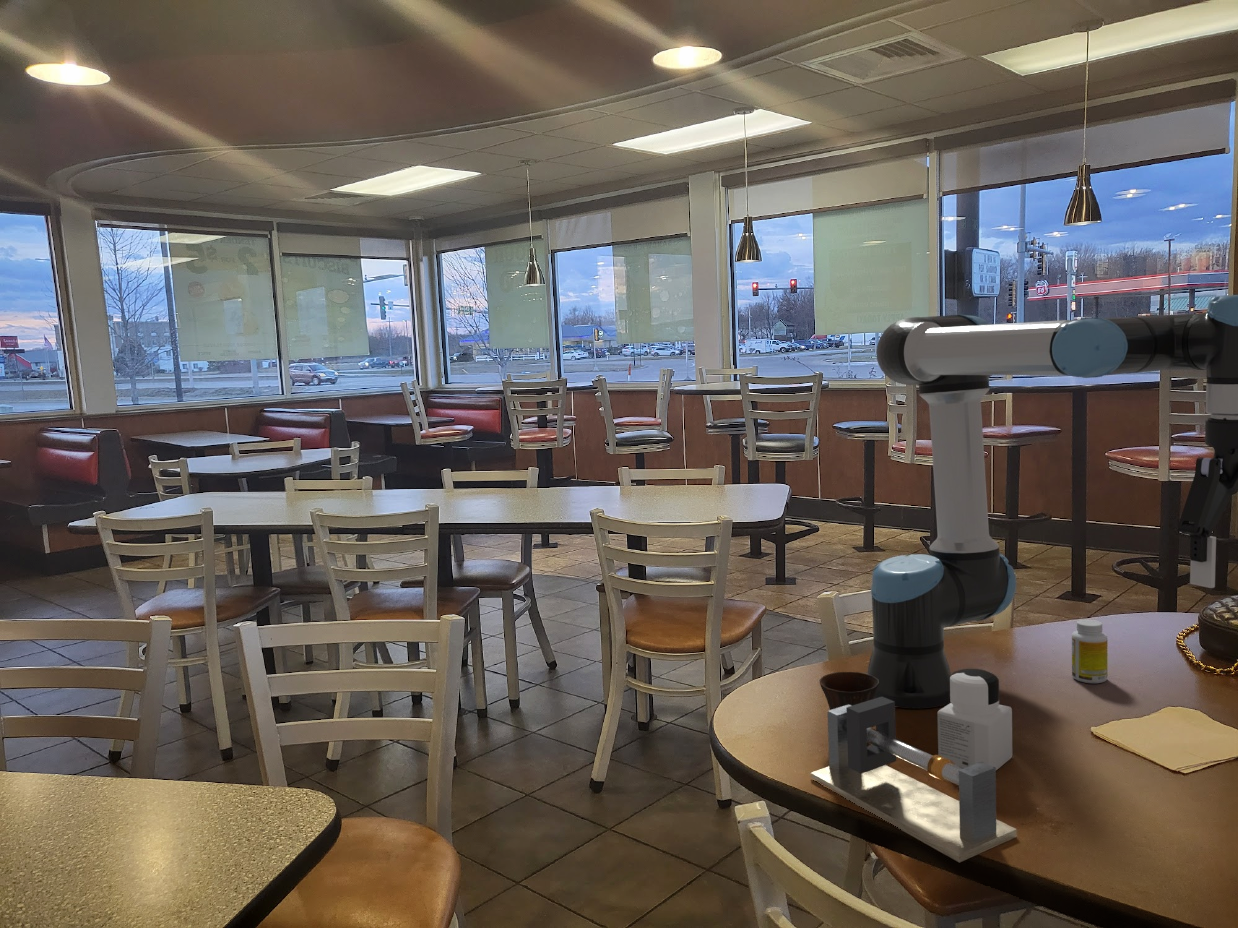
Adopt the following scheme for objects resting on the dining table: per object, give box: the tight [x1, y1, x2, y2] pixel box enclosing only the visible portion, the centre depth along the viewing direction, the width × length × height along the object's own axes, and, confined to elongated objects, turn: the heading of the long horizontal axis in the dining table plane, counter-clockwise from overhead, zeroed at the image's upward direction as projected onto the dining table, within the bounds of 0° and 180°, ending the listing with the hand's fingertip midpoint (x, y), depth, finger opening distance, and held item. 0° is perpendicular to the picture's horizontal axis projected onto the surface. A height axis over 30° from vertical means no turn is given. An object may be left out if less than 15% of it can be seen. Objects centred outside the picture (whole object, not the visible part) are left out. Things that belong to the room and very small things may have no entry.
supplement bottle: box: [1071, 619, 1109, 685], centre depth 160 cm, size 6×6×10 cm
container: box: [937, 668, 1013, 771], centre depth 132 cm, size 8×8×13 cm
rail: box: [810, 704, 1018, 863], centre depth 120 cm, size 26×10×10 cm, turn 29°
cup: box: [819, 671, 879, 710], centre depth 141 cm, size 9×9×10 cm
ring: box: [846, 697, 897, 774], centre depth 125 cm, size 2×6×8 cm, turn 119°
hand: (1235, 577), depth 120 cm, fingers open, 13 cm apart
